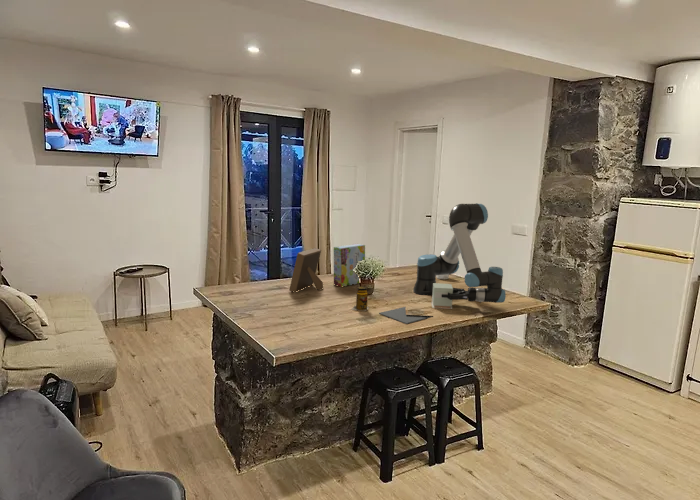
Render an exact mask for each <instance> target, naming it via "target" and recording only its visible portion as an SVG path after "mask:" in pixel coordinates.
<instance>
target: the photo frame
mask: <svg viewBox="0 0 700 500" xmlns="http://www.w3.org/2000/svg"><path fill="white" fill-rule="evenodd" d="M321 253H322V250H321V249H319V248H316V247H314V248H311V249H306V250H303V251H299V252H298V253H297V254H296V260H295V264H294V269H293V272H292V277H291V281H290V285H289V289H288V291H289V292H291V291H294V292H296V291H298V290H301V289H303V288H305V287H308V286H310V285H312V284H313V286H314V287H315V289H316V290H317V289H321V290H323V289H324V282H323V281H322V280H321V279H320V278H319V276H318V275H317V274H316V273H317V269H318V264H319V261H320V257H321ZM310 287H311V286H310ZM308 288H309V287H308ZM322 288H323V289H322ZM303 290H304V289H303ZM301 291H302V290H301ZM294 292H293V293H294Z"/></svg>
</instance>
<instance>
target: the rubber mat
mask: <svg viewBox="0 0 700 500" xmlns="http://www.w3.org/2000/svg"><path fill="white" fill-rule="evenodd" d="M406 309H407V308H406V306H403V307H399V308H394V309H389V310H385V311H381V312H378V314H379V315H380V316H383V317H386V318H388V319H392V320H394V321H397V322H399V323H402V324H405V325H408V324H412V323H417V322H420V321H423V320H428V319H431V318H434V316H433V315H423V314H421V315H419V314H407V311H406Z"/></svg>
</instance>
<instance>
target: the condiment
mask: <svg viewBox="0 0 700 500" xmlns="http://www.w3.org/2000/svg"><path fill="white" fill-rule="evenodd" d="M368 293H369V292H368V288H367V286H358V287H357V290H356V295H355V296H356V299H355V300H356V302H355V304H356V305H354V306H353V307H352V308H351V309H350V310H351V311H352V310H353V311H359V312H360V311H361V312H367V311H368V310H369V308H370V307H368V297H369V296H368Z"/></svg>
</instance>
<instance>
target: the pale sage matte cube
mask: <svg viewBox="0 0 700 500" xmlns="http://www.w3.org/2000/svg"><path fill="white" fill-rule="evenodd" d="M453 288H454V287H453V285H452V283H439V282H438V283H437V282H436V283H433V292H432V295H431V296H432V297H431V302H433V305H435V306H452V307H453V300H450V299H448V298H435V292H437V293H448V292H449V293H450V294H453Z"/></svg>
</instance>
